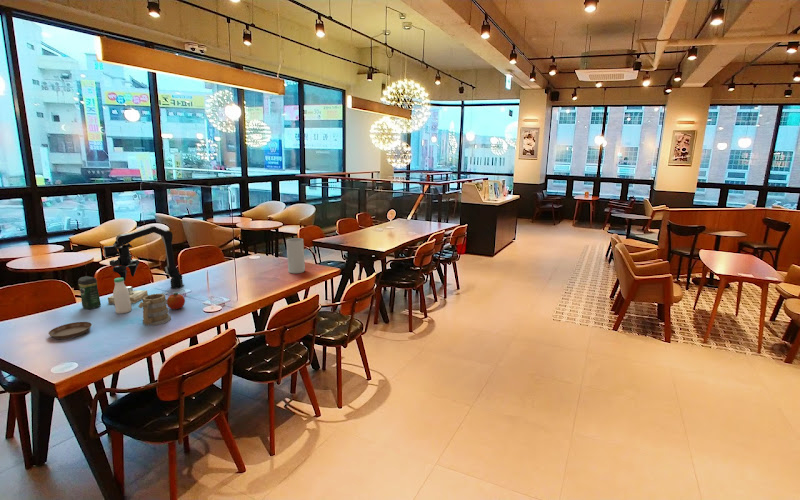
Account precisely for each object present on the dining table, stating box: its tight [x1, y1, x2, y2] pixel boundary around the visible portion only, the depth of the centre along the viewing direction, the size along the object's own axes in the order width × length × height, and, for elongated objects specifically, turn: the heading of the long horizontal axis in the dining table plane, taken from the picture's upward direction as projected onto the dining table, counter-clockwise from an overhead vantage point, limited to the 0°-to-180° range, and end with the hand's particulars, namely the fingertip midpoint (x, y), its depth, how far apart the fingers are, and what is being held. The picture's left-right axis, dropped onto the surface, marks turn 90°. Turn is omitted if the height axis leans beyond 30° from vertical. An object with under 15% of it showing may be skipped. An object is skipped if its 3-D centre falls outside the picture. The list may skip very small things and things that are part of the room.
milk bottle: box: [112, 277, 132, 315], centre depth 246 cm, size 8×8×20 cm
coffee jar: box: [77, 275, 101, 310], centre depth 254 cm, size 10×8×19 cm
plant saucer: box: [48, 321, 93, 340], centre depth 218 cm, size 18×18×3 cm
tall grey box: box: [126, 285, 134, 295], centre depth 268 cm, size 5×3×8 cm, turn 90°
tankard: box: [137, 293, 172, 326], centre depth 229 cm, size 20×13×15 cm, turn 178°
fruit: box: [166, 292, 186, 310], centre depth 252 cm, size 10×10×10 cm
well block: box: [107, 289, 149, 304], centre depth 268 cm, size 16×14×4 cm
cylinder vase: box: [285, 237, 306, 274], centre depth 327 cm, size 12×12×25 cm
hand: (128, 278), depth 272 cm, fingers open, 9 cm apart
